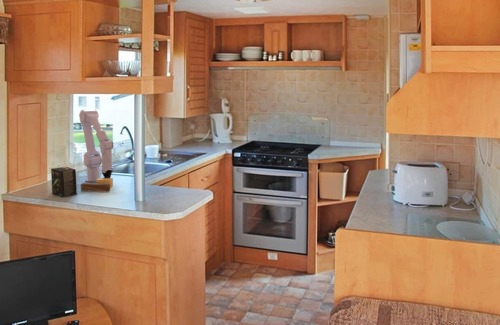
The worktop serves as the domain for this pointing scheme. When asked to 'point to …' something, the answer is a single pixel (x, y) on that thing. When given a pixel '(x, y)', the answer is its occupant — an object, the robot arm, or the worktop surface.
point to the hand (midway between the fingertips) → (107, 182)
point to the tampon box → (63, 181)
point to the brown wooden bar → (95, 187)
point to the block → (105, 181)
